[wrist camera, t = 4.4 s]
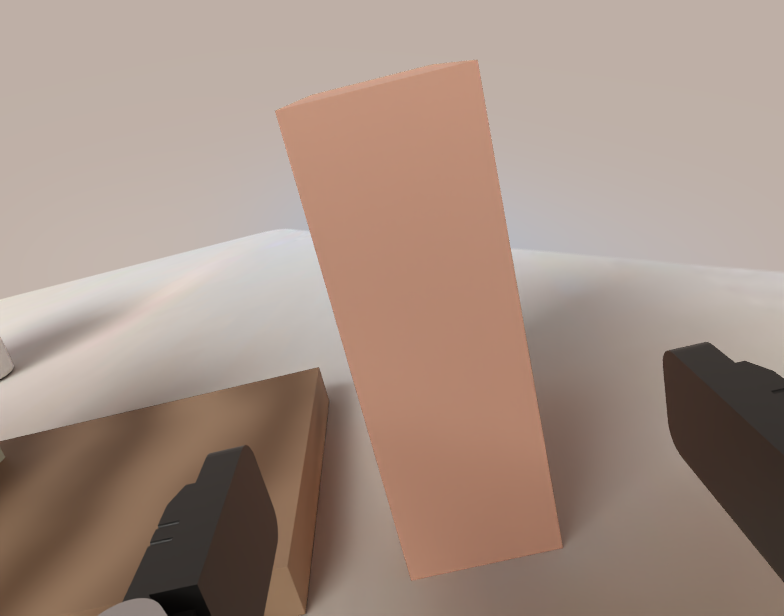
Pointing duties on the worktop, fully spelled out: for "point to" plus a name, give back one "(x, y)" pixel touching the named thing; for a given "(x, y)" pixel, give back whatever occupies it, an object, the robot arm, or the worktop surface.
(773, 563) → the robot arm
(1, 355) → the photo printer
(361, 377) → the terracotta book
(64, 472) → the shelf ledge
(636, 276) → the worktop surface
